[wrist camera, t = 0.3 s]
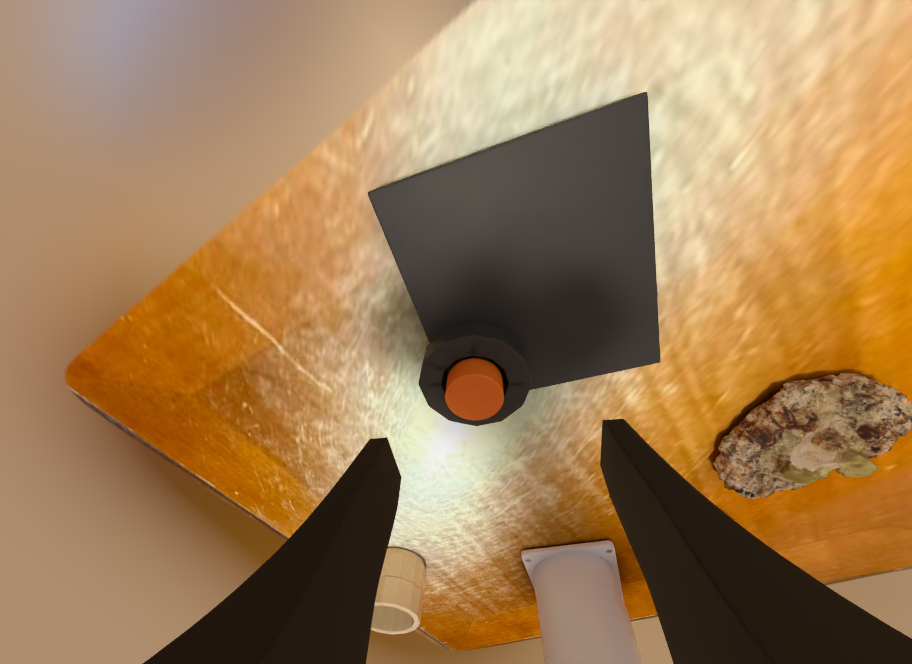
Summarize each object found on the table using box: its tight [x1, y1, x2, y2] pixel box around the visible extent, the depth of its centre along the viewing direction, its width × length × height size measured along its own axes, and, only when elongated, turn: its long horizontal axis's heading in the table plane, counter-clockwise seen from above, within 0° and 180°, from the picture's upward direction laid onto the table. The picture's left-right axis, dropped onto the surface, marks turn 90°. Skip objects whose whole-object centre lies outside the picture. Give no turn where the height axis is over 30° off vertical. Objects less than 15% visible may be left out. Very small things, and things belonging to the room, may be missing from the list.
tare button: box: [445, 358, 504, 420], centre depth 18 cm, size 3×3×2 cm
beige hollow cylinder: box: [371, 548, 426, 634], centre depth 31 cm, size 6×6×4 cm
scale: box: [368, 92, 660, 426], centre depth 17 cm, size 14×13×3 cm
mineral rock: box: [713, 373, 912, 499], centre depth 21 cm, size 11×4×8 cm
